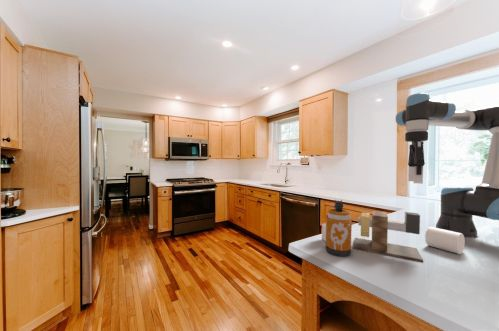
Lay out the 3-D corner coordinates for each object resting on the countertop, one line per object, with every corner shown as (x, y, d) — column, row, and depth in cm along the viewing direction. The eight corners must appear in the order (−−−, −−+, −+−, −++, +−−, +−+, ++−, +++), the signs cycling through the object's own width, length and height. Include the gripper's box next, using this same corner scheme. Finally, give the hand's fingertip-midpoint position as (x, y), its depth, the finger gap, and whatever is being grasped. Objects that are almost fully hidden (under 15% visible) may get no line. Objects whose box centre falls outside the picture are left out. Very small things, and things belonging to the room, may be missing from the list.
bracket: (416, 250, 84) (417, 215, 84) (423, 262, 73) (424, 222, 73) (355, 239, 95) (355, 208, 95) (353, 248, 84) (353, 213, 84)
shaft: (417, 231, 80) (417, 213, 80) (419, 234, 77) (419, 215, 77) (358, 223, 90) (359, 207, 90) (358, 225, 87) (358, 208, 87)
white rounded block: (457, 256, 79) (457, 235, 79) (424, 247, 87) (425, 227, 87) (467, 250, 85) (468, 230, 85) (436, 242, 93) (436, 224, 93)
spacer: (369, 231, 90) (369, 213, 90) (369, 237, 83) (369, 217, 83) (361, 230, 92) (361, 212, 92) (360, 235, 85) (361, 216, 85)
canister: (325, 254, 78) (326, 201, 78) (325, 244, 88) (326, 197, 88) (352, 259, 75) (353, 203, 75) (349, 247, 85) (350, 198, 85)
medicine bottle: (346, 243, 89) (346, 215, 89) (332, 245, 87) (332, 216, 87) (334, 237, 96) (335, 211, 96) (321, 239, 94) (322, 212, 94)
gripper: (401, 135, 100) (400, 180, 101) (410, 127, 79) (408, 183, 79) (421, 135, 97) (420, 181, 97) (436, 126, 75) (434, 185, 75)
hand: (414, 182), depth 88 cm, fingers open, 13 cm apart
